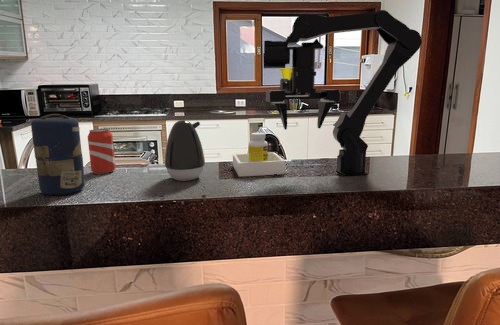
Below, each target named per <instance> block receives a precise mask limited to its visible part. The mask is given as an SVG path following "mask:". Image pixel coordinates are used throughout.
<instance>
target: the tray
mask: <svg viewBox="0 0 500 325" xmlns="http://www.w3.org/2000/svg"><path fill="white" fill-rule="evenodd" d="M232 167H233V168H234V170H235V172H236V174H237V176H238V177H255V176H270V175H271V176H272V175H273V176H274V174H277V175H286V160H285V159H284V158H282V157H281V156H280V155H278V154H277V153H276V152H274V151H273V152H272V151H271V152H268V161H261V162H249V153H233V154H232Z"/></svg>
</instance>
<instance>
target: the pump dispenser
mask: <svg viewBox="0 0 500 325" xmlns="http://www.w3.org/2000/svg"><path fill="white" fill-rule="evenodd" d="M200 125H201V122H199V121H196V122H194V123H191V121H189V120H185V119H182V120H181V119H179V120H178V121H176V122H175V123H173V125H172V126H171V129H170V131H169V134H168V137H167V139H166V140H167V141H166V145H165V153H164V167H165V168H166V170H167V173H168V175H169V176H170V177H171V179H174V180H176V181H180V182H188V181H193V180H196V179H197V178H199V177H200V176H201V174H202V173H203V171H204V166H205V165H206V163H205V162H206V159H205V155H204V154H205V152H204V150H203V145H202V142H201V139H200V137H199V134H198V132H197V130H196V128H198V127H199V126H200Z"/></svg>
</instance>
